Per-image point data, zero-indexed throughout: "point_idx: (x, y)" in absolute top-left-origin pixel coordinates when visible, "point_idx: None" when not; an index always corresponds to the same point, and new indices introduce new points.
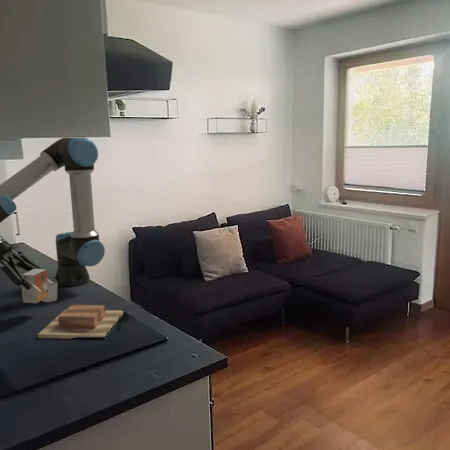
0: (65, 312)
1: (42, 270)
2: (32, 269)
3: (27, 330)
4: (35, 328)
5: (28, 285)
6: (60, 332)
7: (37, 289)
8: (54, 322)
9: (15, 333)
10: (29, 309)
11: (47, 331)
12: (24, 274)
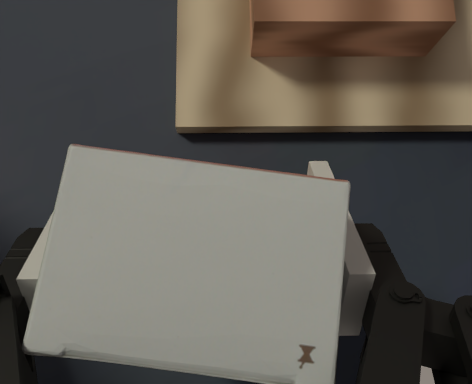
0: (384, 10)
1: (125, 170)
2: (57, 349)
3: (422, 223)
4: (394, 194)
5: (383, 240)
6: (468, 32)
7: (334, 178)
8: (356, 108)
9: (466, 266)
10: (122, 370)
11: (467, 94)
12: (315, 339)
